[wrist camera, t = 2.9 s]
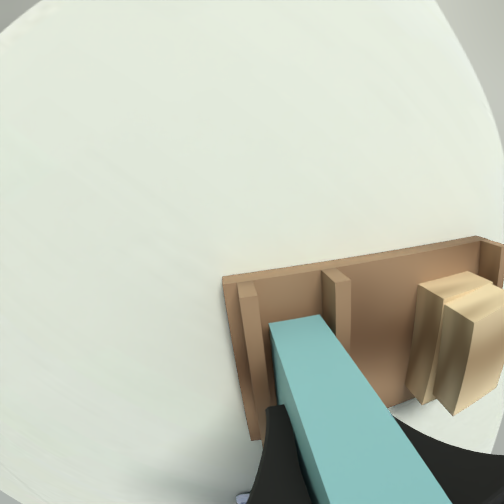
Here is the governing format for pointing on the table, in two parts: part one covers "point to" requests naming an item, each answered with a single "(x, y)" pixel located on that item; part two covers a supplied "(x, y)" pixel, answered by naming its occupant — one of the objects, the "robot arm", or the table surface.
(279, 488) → the robot arm
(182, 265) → the table surface
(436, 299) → the lower oak offcut
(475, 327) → the upper oak offcut
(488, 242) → the walnut rack
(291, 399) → the teal block
